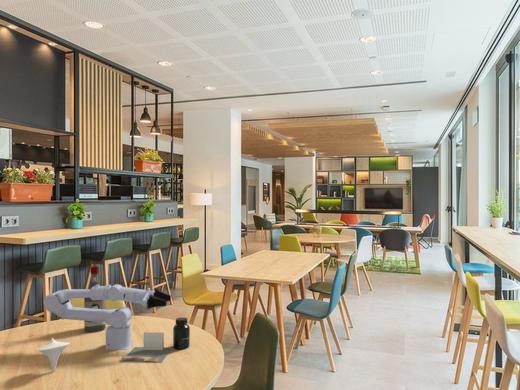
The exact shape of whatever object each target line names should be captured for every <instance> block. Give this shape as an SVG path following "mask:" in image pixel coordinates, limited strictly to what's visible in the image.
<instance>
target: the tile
mask: <svg viewBox="0 0 520 390" xmlns="http://www.w3.org/2000/svg"><path fill="white" fill-rule="evenodd" d="M164 339H165V332H163V331H162V332H161V331H160V332H159V331H145V332H143V347H144V350H164V347H165V342H164V341H165V340H164Z"/></svg>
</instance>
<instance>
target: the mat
mask: <svg viewBox="0 0 520 390" xmlns="http://www.w3.org/2000/svg"><path fill="white" fill-rule="evenodd" d="M172 349H174V348H173V346H172V347H165V346H164V350H144V346H140V347H139V346H134V347H133V348H132V349H131V350H130V351H129V353H127V354H126V356H128V357H160V358H159V360H158V361H157V362H144V361H121V360H120V362H119V363H122V364H123V363H129V364H132V363H133V364H140V363H141V364H162V363H163V362H164V360H165V359H166V358H167V356H168V355H169V353H170V352H171V350H172Z"/></svg>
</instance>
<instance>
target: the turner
mask: <svg viewBox="0 0 520 390" xmlns="http://www.w3.org/2000/svg"><path fill="white" fill-rule="evenodd" d="M159 358H160V357H128V356H127V355H125V356H122V357H121V360H120V362H121V361H144V362H157V361H158V360H159Z"/></svg>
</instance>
